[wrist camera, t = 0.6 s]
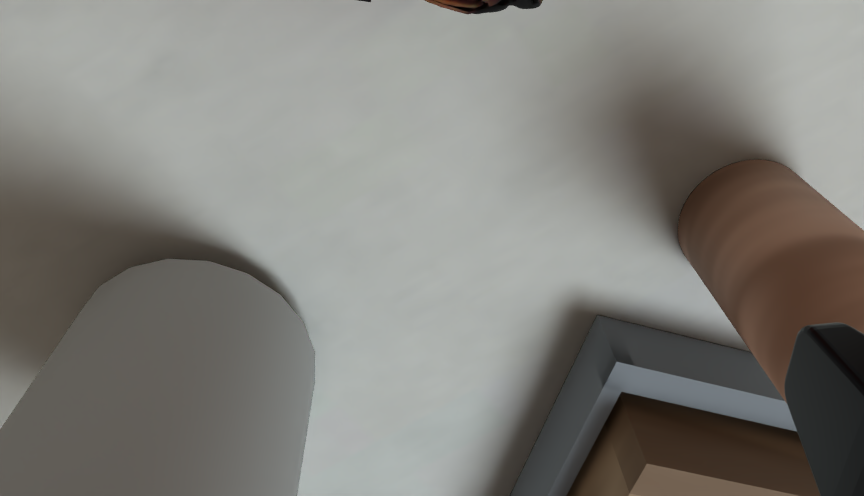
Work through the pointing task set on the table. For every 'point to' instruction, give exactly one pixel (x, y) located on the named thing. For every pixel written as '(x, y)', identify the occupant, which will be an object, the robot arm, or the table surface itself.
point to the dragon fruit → (482, 5)
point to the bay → (642, 394)
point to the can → (168, 392)
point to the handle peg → (773, 257)
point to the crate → (690, 455)
